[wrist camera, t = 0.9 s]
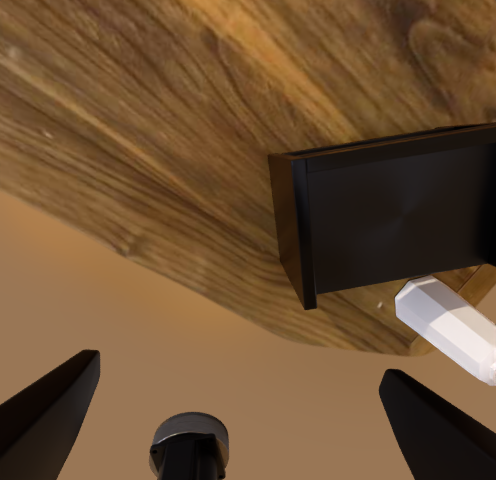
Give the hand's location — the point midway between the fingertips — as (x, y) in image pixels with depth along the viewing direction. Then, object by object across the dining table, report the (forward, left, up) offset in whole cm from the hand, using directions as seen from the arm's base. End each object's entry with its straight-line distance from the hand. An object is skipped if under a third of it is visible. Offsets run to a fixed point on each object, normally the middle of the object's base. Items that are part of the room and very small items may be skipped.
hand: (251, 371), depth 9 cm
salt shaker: (-10, -17, -15) cm, 25 cm away
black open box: (+1, -11, -15) cm, 18 cm away
